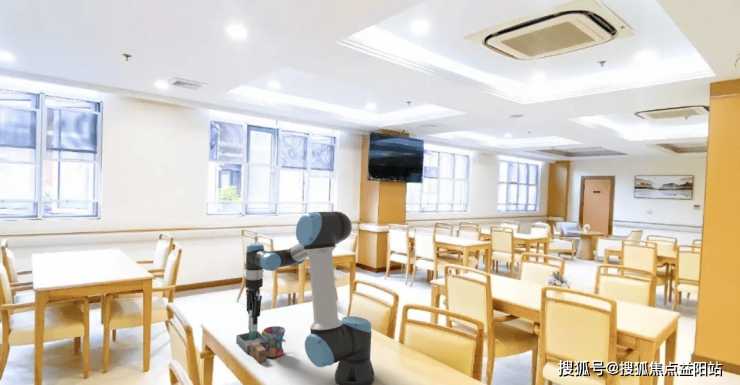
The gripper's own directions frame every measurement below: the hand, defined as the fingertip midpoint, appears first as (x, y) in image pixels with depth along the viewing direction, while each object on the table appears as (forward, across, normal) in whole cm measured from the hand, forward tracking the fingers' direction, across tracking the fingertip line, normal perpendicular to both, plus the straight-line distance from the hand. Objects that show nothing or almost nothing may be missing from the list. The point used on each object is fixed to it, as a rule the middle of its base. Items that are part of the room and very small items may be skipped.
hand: (252, 329), depth 174 cm
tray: (+7, 0, 0) cm, 7 cm away
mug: (+8, -13, -6) cm, 16 cm away
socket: (+7, +3, -10) cm, 13 cm away
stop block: (+7, -13, +2) cm, 15 cm away
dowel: (+4, 0, 0) cm, 4 cm away
